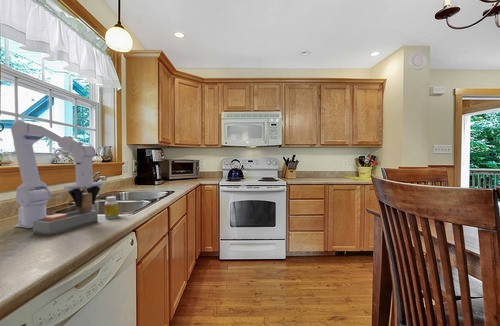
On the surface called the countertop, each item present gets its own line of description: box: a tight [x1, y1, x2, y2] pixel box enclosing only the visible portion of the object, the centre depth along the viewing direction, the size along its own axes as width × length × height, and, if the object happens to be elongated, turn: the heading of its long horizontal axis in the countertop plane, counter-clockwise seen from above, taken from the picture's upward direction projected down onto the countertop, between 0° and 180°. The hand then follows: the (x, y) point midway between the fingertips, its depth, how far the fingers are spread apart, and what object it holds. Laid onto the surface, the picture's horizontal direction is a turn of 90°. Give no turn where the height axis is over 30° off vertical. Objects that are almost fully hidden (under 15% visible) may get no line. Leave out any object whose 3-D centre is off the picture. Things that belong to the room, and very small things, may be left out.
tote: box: [32, 210, 99, 237], centre depth 91 cm, size 9×18×5 cm, turn 161°
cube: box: [44, 213, 67, 222], centre depth 87 cm, size 5×5×5 cm
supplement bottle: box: [104, 195, 119, 220], centre depth 105 cm, size 5×5×10 cm
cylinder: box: [77, 192, 94, 212], centre depth 94 cm, size 5×5×7 cm
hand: (85, 205), depth 94 cm, fingers closed on cylinder, 5 cm apart
